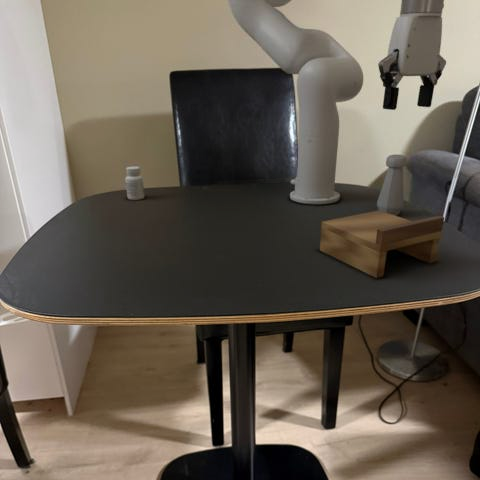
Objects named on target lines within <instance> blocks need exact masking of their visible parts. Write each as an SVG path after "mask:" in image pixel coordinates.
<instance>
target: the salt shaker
mask: <svg viewBox="0 0 480 480" xmlns="http://www.w3.org/2000/svg"><path fill="white" fill-rule="evenodd" d="M407 163H408V157H406V156H405V155H403V154H390V155H388V156H387V158H386V160H385V166H386V167H388V169H387V170H386V171H387V172H386V175H385V178H384V180H383V183H382V186H381V189H380V191H379V192H380V193H379V195H378V198H377V202H376V206H377V209H378V210H380V211H383V212H386V213H389V214H392V215H395V216H399V215H400V214H401V211H402V210H403V208H404V205H405V201H404V200H405V198H404V197H405V194H404V168H405V167H406V166H407Z"/></svg>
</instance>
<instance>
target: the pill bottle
mask: <svg viewBox="0 0 480 480" xmlns="http://www.w3.org/2000/svg"><path fill="white" fill-rule="evenodd" d="M125 173H126V176H125V178H124V181H125V186H126V187H125V189H126V197H127V199H128V200H131V201H138V200H143V199H145V187H144V178H143V176H142V175H140V174H141V168H140V166H136V165H135V166H127V167H125Z"/></svg>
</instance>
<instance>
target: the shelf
mask: <svg viewBox="0 0 480 480" xmlns="http://www.w3.org/2000/svg"><path fill="white" fill-rule="evenodd" d="M444 222H445V216H441V215H435V216H431V217H427V218H421V219H418V220H413V221H412V220H409V219H407V218H403V217H401V216H399V215H397V216H395V215H392V214H389V213H386V212H383V211H380V210H379V209H378V210H374V211H368V212H364V213H358V214H354V215H353V214H352V215H348V216H343V217H338V218H333V219H329V220H323V221H321V229H320V240H319V241H320V244H319V251H320V252H322V253H324V254H326V255H328V256H330V257H332V258H334V259H336V260H338V261H339V262H340V261H341V262H343V263H344V264H347V265H349V266H350V267H353V268H355V269H357V270H359V271H361V272H363V273H365V274H366V275H369V276H371V277H373V278H375V279H378V278H381V277H382V278H383V277H384V274H385V267H386V261H387V253H388V252H389V251H392V250H395V251H398V252H400V253H402V254H403V253H404V254H406V255H408V256H409V257H412V258H416V259H418V260H420V261H423V262H425V263H428V264H432V263H435V262H436V261H437V256H438V251H439V247H440V241H441V237H442V231H443V228H444V227H443V226H444Z"/></svg>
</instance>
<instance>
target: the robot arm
mask: <svg viewBox="0 0 480 480" xmlns="http://www.w3.org/2000/svg"><path fill="white" fill-rule="evenodd" d="M290 2H292V0H228V5H229V8H230V12H231V14H232V16H233V18H234V20H235V21H236V22H237V24H238V25H239V26H240V28H241V29H242V30H243V31H244V32H245V33H246V34H247V35H248V36H249V37H250V38H251V39H252V40H253V41H254V42H255V43H256V44H257V45H258V46H259V47H260V48H261V49H262V50H263V52H264V53H265V54H266V55H268V57H269V58H270V59H271V60H272V61H273V62H274V63H275V64H276V65H277V67H279V68H280V69H281V70H282V71H283V72H284V73H285V74H288V75H297V78H296V94H297V102H298V115H299V116H298V143H297V162H296V163H297V166H296V167H297V168H296V177H294V178H292V179H291V180H290V184H291V185H294V190H293V191H291V192H290V193H289V198H290V200H291V201H293V202H296V203H299V204H304V205H305V204H306V205H328V204H334V203H336V202H338V201H340V197H341V194H340V193H339V192H338V191H335V185H336V174H337V173H336V172H337V161H338V148H339V138H340V137H339V136H340V115H339V110H338V107H337V106H338V105H337V103H343V102H344V103H345V102H347V101H351V100H353V99H354V98H355V97H357V96H358V95H359V93H360V92H361V90H362V88H363V85H364V72H363V69H362V66H361V65H360V63H359V62H358V61H357V59H355V58H354V56H353V55H351V53H350V52H349V51H348V50H346V48H344V47H343V46H342V45H341V44H340V43H339V42H338V41H337V40H336V39H335V37H333V36H332V35H331V34H329V33H327V32H325V31H324V30H321V29H317V28H316V29H315V28H304V27H303V28H302V27H299V26H297V25H296V24H294V23H293V22H292V21H291V20H289V18H287V17H286V15H285V14H284V13H283V12H282V11H281V10H279V9H278V8H281V7H283V6H285V5H286V6H287V4H289V3H290ZM444 7H445V0H401V3H400V9H399V10H400V11H399V16H398V17H396V19H395V21H394V25H393V27H392V31H391V36H390V39H389V43H388V50H387V55H386V56H385V57H384V58H383V59H381V60H379V62H378V64H377V66H378V71H379V74H380V75H379V78H380V81H382V86H383V88H384V94H383V101H382V102H383V103H382V109H383V110H390V111H395V110H396V109H397V106H398V99H399V94H400V93H399V92H400V87H397V86H398V85H399V83H400V82H401V81H402V79H403V77H420V80H421V83H422V84H420V86H419V89H418V90H419V91H418V95H417V96H418V97H417V102H416V103H417V104H416V105H417V107H420V108H421V107H423V108H431V107H432V102H433V98H434V97H433V96H434V90H435V86H437V85H438V80H439V79H440V78H441V77H442V75H443V71H444V69H445V67H446V65H447V60H446V59H445V58H444V57H443V56H442V55H441V46H442V38H443V37H442V36H443V35H442V34H443V17H442V15H443V10H444Z"/></svg>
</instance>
